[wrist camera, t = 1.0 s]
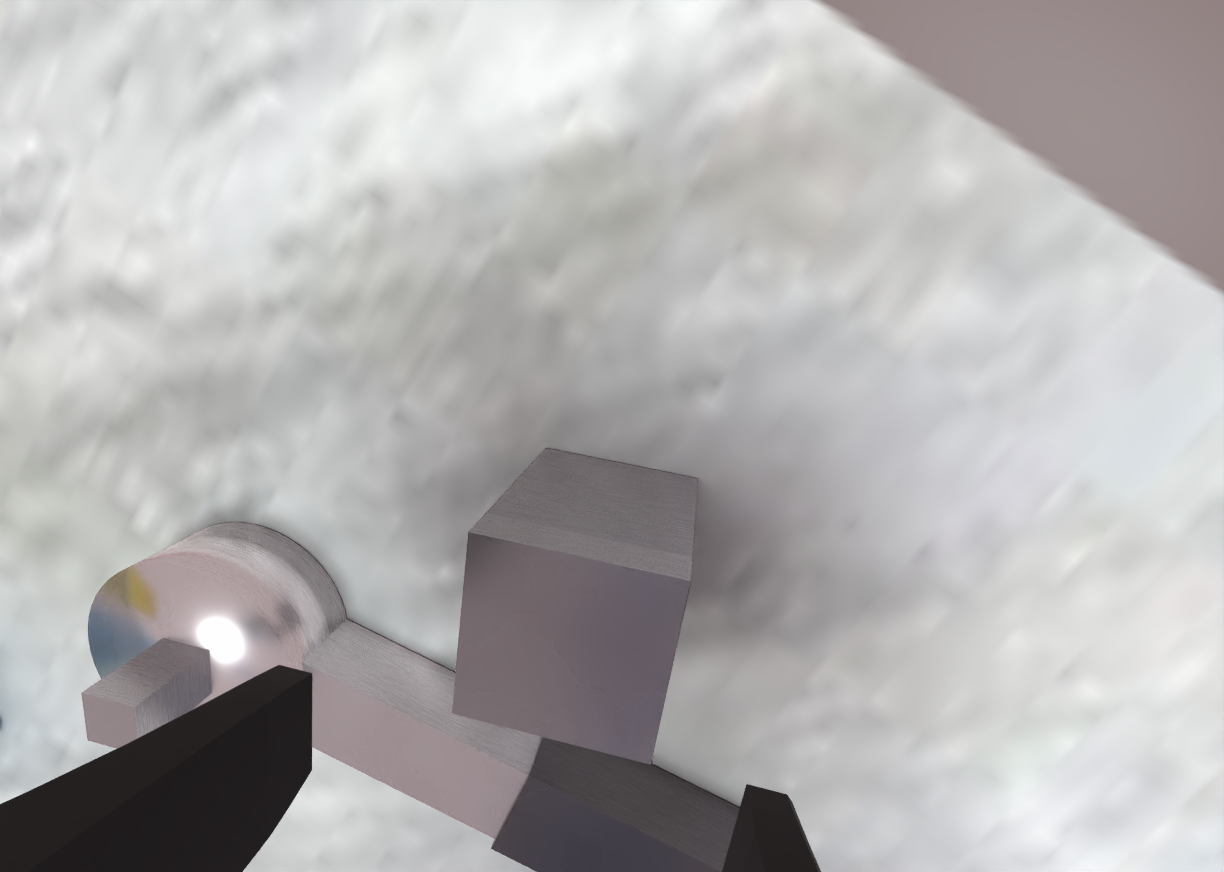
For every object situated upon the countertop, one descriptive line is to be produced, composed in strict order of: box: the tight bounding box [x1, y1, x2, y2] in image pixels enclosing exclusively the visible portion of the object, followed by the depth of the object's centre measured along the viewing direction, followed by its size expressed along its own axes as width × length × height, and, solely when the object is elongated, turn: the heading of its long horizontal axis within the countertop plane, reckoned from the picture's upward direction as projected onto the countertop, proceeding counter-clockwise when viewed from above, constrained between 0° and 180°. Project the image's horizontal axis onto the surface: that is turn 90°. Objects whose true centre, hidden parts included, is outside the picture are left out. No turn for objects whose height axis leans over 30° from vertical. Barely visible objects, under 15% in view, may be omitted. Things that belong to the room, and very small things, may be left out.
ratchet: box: [82, 522, 740, 872], centre depth 18 cm, size 10×22×6 cm, turn 81°
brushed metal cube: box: [452, 448, 698, 765], centre depth 15 cm, size 5×5×6 cm
